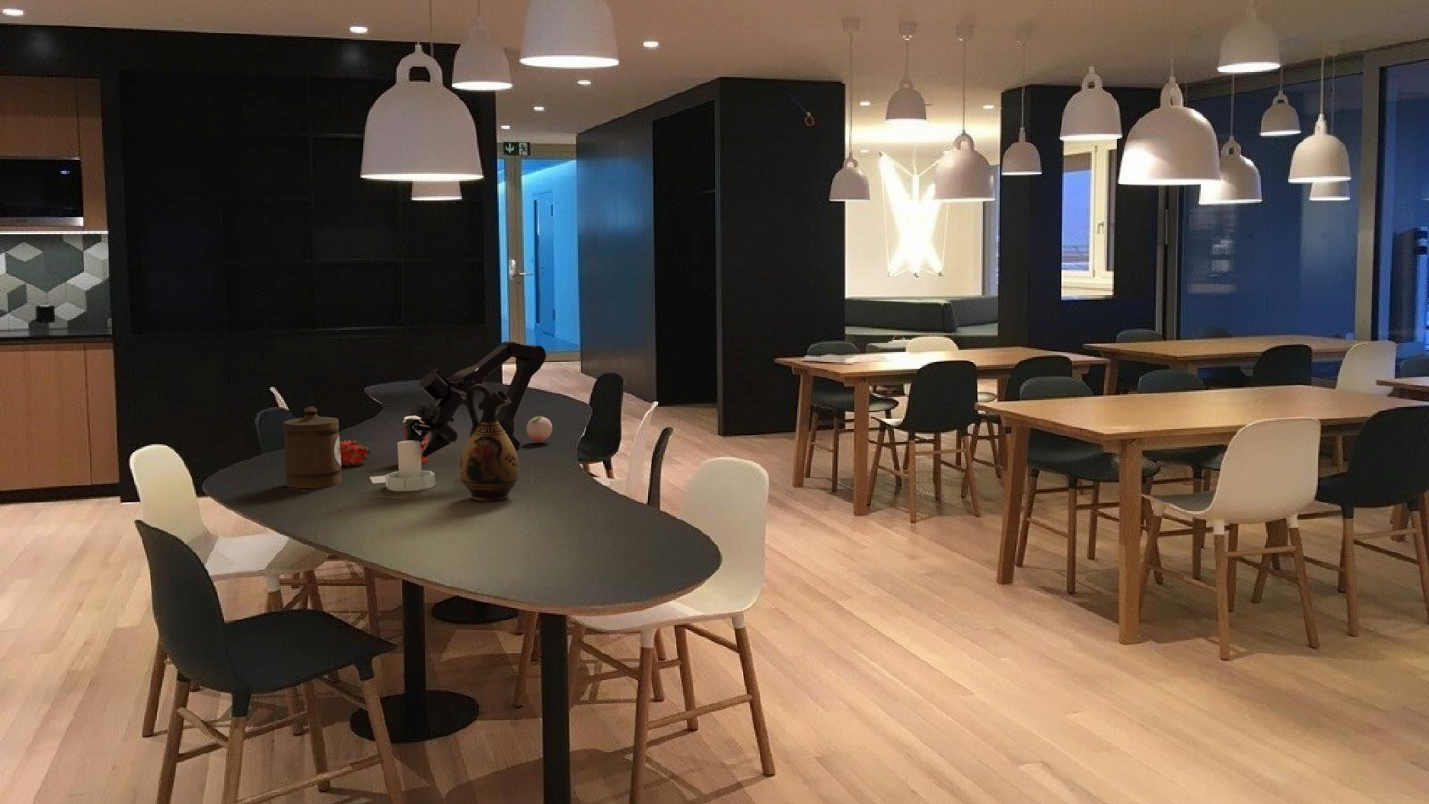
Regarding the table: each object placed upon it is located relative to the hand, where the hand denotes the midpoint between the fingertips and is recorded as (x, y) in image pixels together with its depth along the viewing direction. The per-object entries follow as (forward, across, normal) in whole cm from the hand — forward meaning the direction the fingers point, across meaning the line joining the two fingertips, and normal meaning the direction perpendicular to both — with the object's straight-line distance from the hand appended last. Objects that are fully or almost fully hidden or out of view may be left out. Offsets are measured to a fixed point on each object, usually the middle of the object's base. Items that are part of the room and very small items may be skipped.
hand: (413, 454), depth 344 cm
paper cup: (-9, -32, +22) cm, 40 cm away
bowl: (+7, 0, +5) cm, 9 cm away
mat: (+6, -14, +7) cm, 17 cm away
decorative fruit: (-41, -30, +55) cm, 75 cm away
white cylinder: (+7, 0, +5) cm, 8 cm away
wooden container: (+18, -25, -5) cm, 31 cm away
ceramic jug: (+4, +28, +9) cm, 30 cm away
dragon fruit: (+2, -44, +11) cm, 45 cm away
